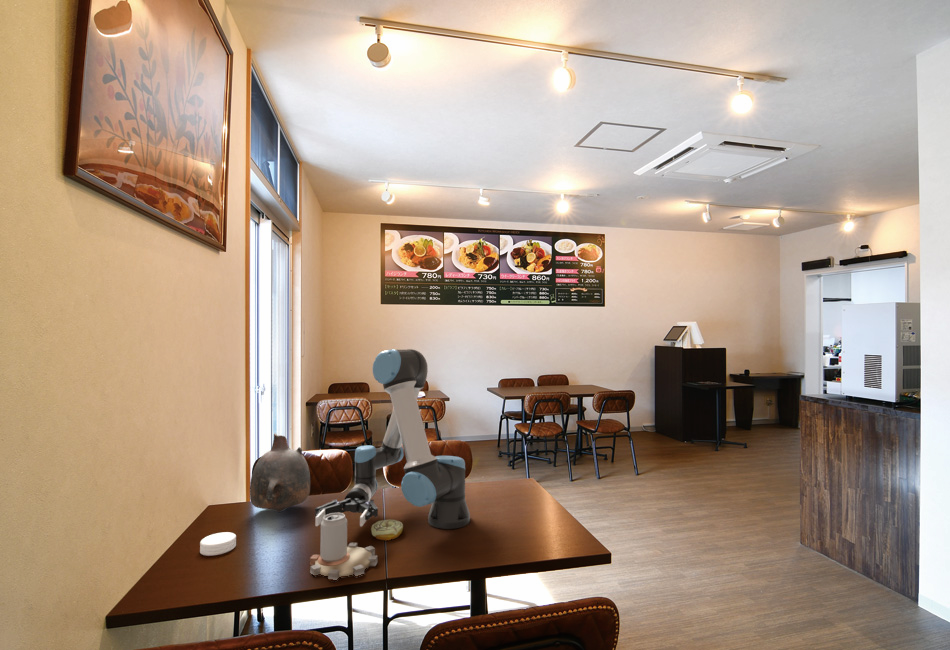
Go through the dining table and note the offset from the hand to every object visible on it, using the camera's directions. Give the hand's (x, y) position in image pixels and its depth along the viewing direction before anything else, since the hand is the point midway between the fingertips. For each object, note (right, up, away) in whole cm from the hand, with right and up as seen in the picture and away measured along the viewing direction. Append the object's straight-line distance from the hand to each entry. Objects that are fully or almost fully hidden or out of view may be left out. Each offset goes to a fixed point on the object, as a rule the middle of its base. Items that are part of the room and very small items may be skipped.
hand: (338, 521), depth 138 cm
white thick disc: (-40, -11, +5) cm, 41 cm away
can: (0, -8, -5) cm, 10 cm away
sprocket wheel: (+3, -10, -5) cm, 12 cm away
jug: (-34, -12, +37) cm, 51 cm away
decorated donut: (+12, -11, +15) cm, 23 cm away
